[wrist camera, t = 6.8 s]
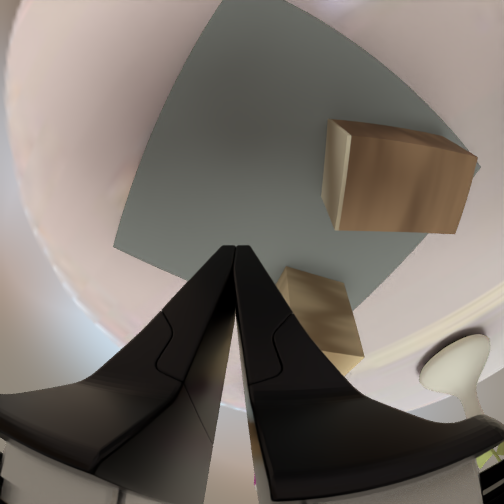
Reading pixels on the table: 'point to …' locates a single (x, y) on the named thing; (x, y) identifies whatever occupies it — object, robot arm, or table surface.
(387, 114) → the slate mat
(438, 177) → the walnut block
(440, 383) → the flower in vase
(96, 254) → the table surface
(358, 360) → the oak block
